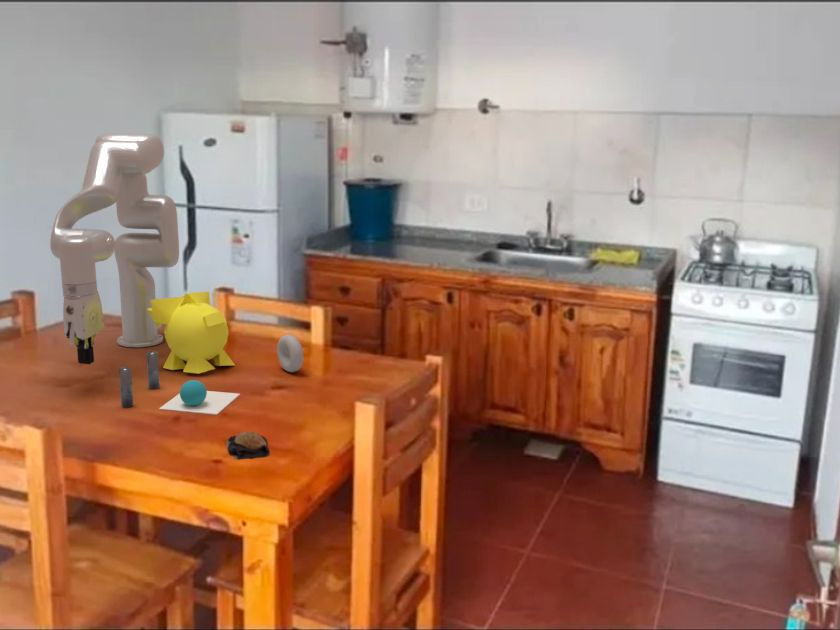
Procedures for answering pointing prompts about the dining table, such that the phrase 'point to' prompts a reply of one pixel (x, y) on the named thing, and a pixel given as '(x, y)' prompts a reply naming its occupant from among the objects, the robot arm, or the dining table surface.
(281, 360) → the donut
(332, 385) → the dining table surface
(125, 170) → the robot arm
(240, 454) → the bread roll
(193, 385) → the ball
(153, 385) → the post
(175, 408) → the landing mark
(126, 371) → the post
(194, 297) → the piggy bank
